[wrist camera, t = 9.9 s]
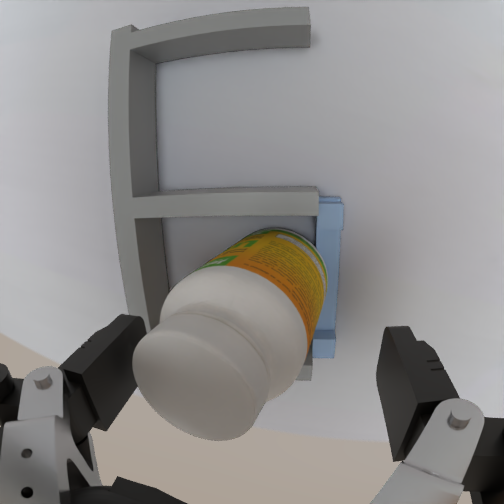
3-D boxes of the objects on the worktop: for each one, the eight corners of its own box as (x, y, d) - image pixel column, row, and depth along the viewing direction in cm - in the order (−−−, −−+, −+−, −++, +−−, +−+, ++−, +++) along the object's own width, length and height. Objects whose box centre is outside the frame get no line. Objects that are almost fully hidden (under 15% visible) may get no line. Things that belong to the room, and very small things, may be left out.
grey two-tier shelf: (138, 46, 15) (111, 30, 12) (307, 23, 13) (307, -2, 10) (161, 345, 20) (142, 371, 17) (310, 356, 18) (310, 387, 16)
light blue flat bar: (316, 196, 16) (317, 200, 14) (339, 196, 16) (343, 201, 14) (311, 343, 18) (311, 359, 16) (331, 342, 18) (333, 360, 16)
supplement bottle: (272, 204, 16) (157, 261, 7) (350, 276, 16) (327, 413, 7) (213, 275, 18) (94, 367, 9) (283, 338, 18) (211, 471, 9)
